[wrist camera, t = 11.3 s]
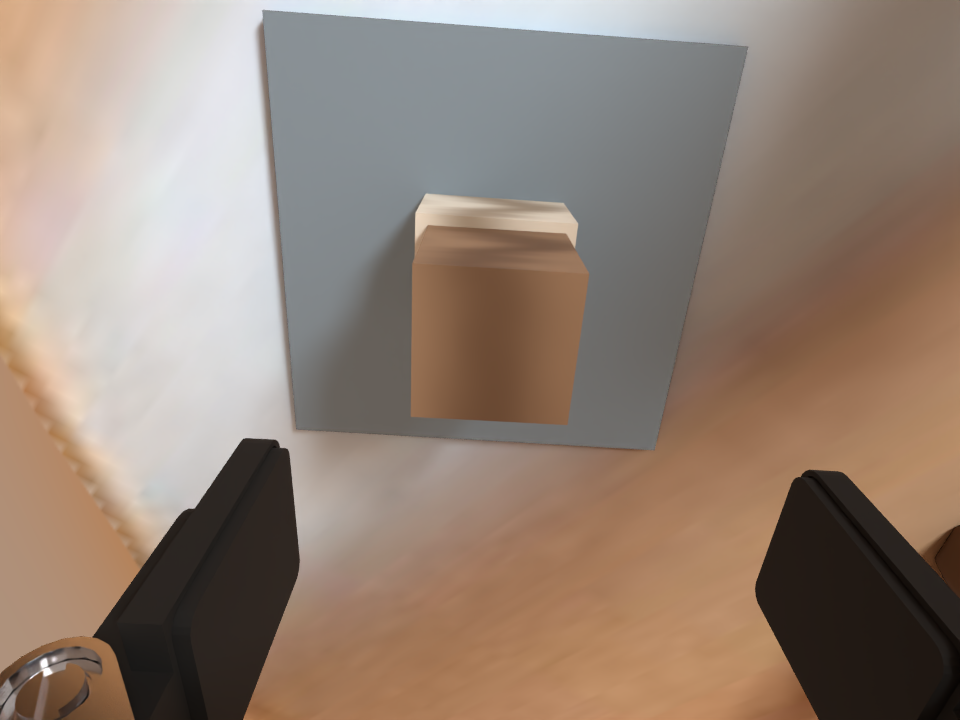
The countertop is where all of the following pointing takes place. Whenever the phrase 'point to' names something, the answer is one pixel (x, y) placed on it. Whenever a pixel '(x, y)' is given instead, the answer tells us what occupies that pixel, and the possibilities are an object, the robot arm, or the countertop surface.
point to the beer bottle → (951, 561)
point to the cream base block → (493, 215)
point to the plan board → (490, 174)
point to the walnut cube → (495, 325)
